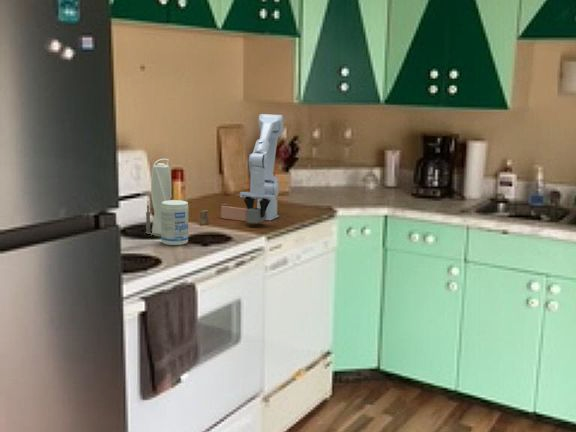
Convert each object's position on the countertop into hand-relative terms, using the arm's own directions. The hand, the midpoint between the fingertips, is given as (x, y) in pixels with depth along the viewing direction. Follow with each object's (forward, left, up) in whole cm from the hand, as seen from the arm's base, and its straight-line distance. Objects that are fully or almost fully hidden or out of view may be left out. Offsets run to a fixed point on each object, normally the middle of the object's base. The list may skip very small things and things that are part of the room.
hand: (256, 216), depth 267 cm
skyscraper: (+31, -25, -4) cm, 40 cm away
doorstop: (0, 0, -2) cm, 2 cm away
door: (-5, -13, -4) cm, 14 cm away
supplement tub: (+40, -13, -4) cm, 42 cm away
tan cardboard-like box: (+1, -19, -4) cm, 19 cm away
